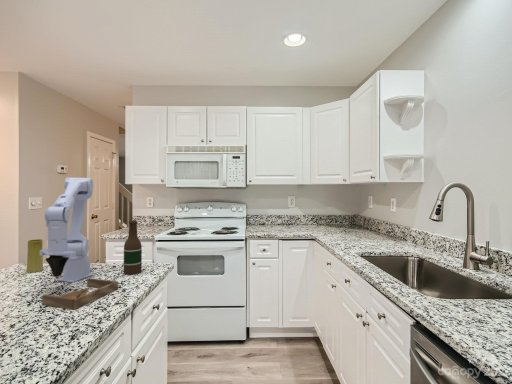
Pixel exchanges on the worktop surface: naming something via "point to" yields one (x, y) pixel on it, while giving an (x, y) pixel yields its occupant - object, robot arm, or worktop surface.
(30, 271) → the olive green rod
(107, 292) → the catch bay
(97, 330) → the worktop surface
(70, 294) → the shard
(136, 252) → the beer bottle
